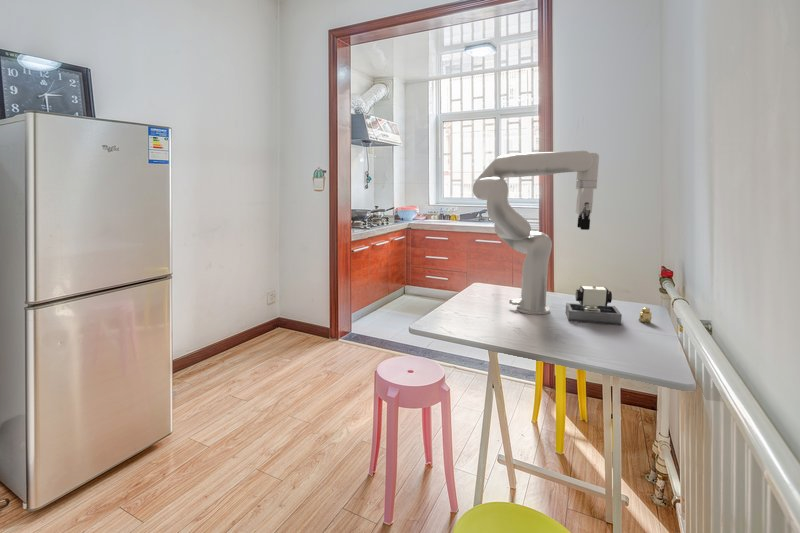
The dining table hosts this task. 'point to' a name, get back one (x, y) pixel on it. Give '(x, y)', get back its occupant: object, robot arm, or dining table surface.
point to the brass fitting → (645, 315)
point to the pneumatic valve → (593, 297)
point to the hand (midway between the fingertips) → (583, 228)
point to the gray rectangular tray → (593, 314)
